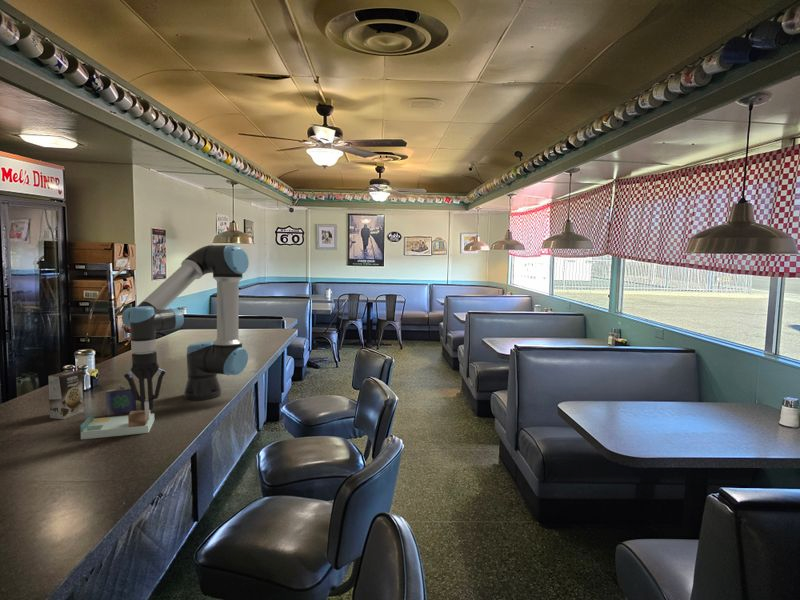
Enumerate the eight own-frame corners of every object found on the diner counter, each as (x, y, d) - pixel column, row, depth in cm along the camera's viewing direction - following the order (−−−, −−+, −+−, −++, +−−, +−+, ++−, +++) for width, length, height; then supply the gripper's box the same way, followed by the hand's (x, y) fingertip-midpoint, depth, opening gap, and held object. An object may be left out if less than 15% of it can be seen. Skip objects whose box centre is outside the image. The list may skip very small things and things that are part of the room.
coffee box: (64, 419, 182) (61, 376, 181) (49, 418, 183) (47, 375, 182) (84, 412, 191) (82, 370, 189) (70, 410, 192) (68, 370, 191)
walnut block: (147, 420, 174) (147, 409, 173) (145, 425, 169) (144, 414, 168) (131, 422, 172) (131, 411, 172) (128, 427, 167) (128, 415, 167)
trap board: (154, 419, 182) (154, 408, 182) (148, 432, 169) (147, 420, 169) (92, 425, 176) (91, 413, 175) (80, 439, 163) (80, 426, 162)
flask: (106, 416, 186) (105, 386, 185) (106, 414, 188) (105, 384, 187) (136, 412, 191) (135, 383, 190) (136, 410, 193) (135, 381, 192)
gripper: (166, 348, 175) (169, 413, 177) (125, 351, 170) (129, 417, 173) (163, 352, 168) (167, 420, 170) (120, 355, 163) (125, 424, 166)
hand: (148, 419), depth 171 cm, fingers closed
